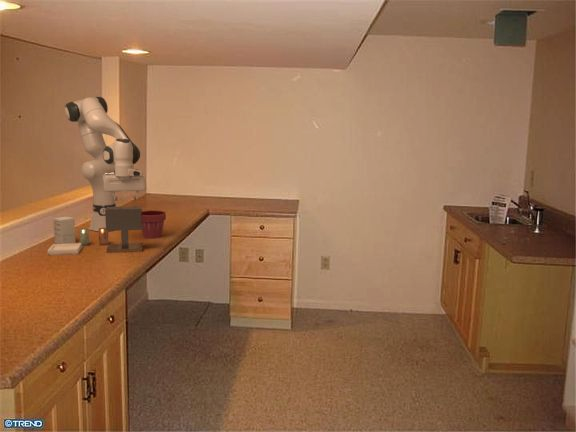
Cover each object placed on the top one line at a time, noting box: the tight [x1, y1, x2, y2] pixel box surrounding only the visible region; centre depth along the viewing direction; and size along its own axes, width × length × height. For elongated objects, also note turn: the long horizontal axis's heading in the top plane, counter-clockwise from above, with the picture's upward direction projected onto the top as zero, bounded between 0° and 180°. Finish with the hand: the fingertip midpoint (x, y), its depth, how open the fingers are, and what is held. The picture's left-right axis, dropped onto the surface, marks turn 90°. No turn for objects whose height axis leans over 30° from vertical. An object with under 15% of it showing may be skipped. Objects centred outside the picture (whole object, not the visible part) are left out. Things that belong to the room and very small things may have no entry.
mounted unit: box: [105, 205, 144, 254], centre depth 271 cm, size 12×16×20 cm
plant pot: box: [141, 210, 167, 239], centre depth 300 cm, size 14×14×13 cm
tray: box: [47, 242, 83, 256], centre depth 267 cm, size 13×13×2 cm
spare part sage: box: [78, 227, 90, 247], centre depth 279 cm, size 4×4×8 cm
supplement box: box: [53, 216, 77, 244], centre depth 282 cm, size 7×7×13 cm
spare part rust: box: [97, 228, 110, 247], centre depth 281 cm, size 4×4×8 cm
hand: (125, 200), depth 282 cm, fingers open, 8 cm apart
